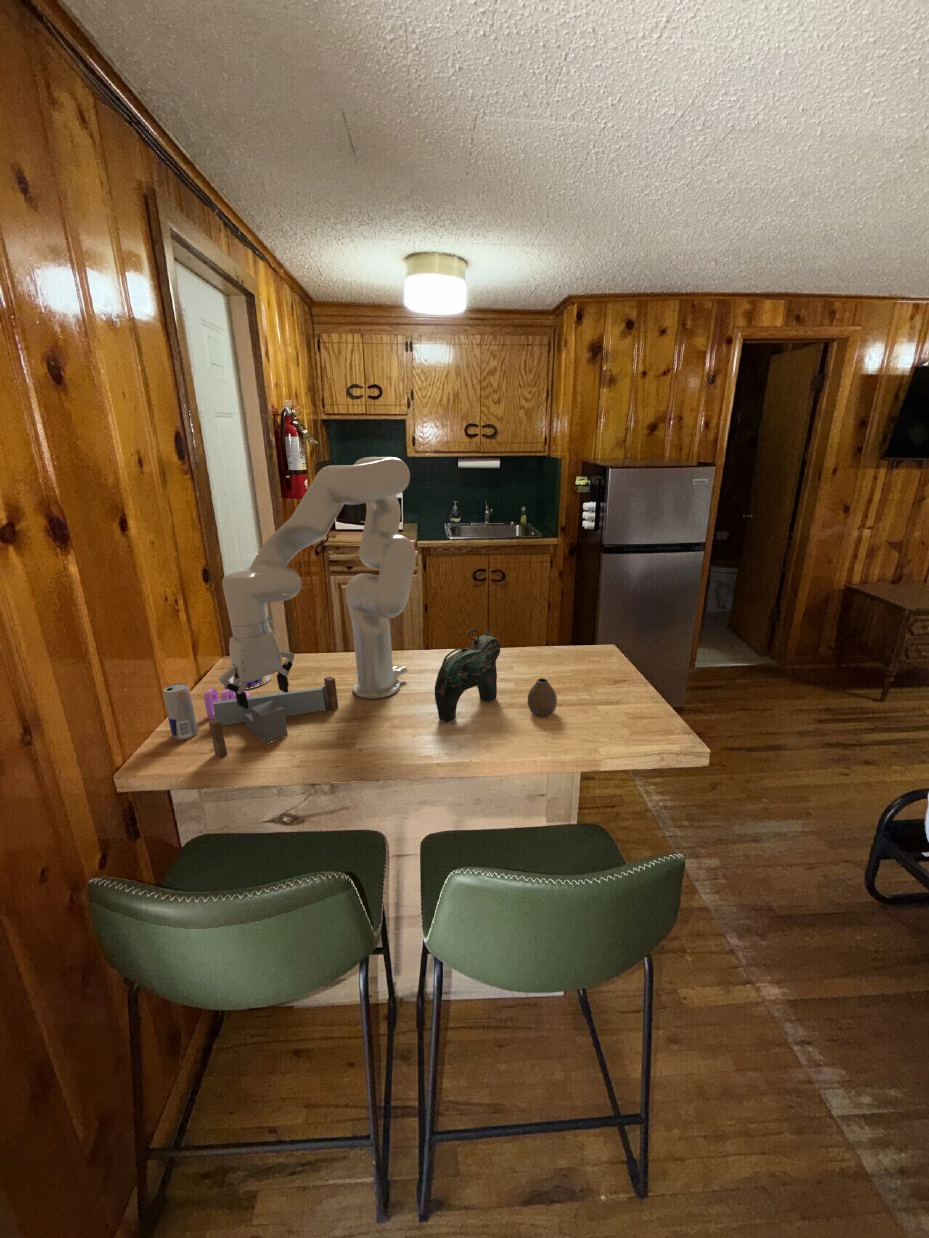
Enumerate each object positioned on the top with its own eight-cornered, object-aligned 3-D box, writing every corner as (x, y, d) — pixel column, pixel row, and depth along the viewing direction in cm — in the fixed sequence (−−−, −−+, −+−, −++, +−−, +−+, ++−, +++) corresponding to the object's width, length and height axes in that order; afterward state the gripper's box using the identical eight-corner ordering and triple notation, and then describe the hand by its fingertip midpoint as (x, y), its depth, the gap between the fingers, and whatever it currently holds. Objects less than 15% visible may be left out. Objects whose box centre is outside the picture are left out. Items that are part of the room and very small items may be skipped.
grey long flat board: (329, 707, 135) (326, 685, 133) (329, 709, 134) (326, 687, 132) (217, 723, 129) (213, 701, 127) (217, 726, 128) (212, 703, 126)
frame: (332, 704, 137) (329, 676, 134) (338, 707, 135) (335, 678, 133) (215, 754, 116) (208, 721, 114) (219, 758, 115) (213, 724, 112)
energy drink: (178, 729, 127) (168, 683, 123) (201, 728, 127) (192, 681, 124) (168, 741, 122) (157, 693, 118) (192, 739, 122) (182, 692, 119)
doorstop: (266, 720, 130) (262, 693, 128) (287, 736, 123) (283, 708, 121) (246, 727, 127) (241, 700, 125) (266, 744, 120) (262, 716, 117)
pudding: (253, 671, 160) (250, 654, 159) (279, 679, 154) (277, 662, 153) (216, 686, 151) (213, 668, 149) (243, 695, 145) (240, 677, 143)
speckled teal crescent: (488, 691, 142) (486, 619, 136) (506, 698, 137) (506, 624, 131) (431, 718, 129) (427, 640, 122) (450, 728, 124) (446, 646, 118)
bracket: (229, 719, 132) (225, 693, 129) (208, 719, 132) (203, 693, 130) (254, 695, 144) (250, 671, 142) (234, 695, 144) (230, 671, 142)
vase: (558, 709, 131) (559, 675, 129) (553, 722, 125) (554, 688, 122) (530, 705, 133) (531, 672, 131) (524, 718, 127) (524, 684, 125)
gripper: (278, 614, 125) (290, 681, 131) (203, 636, 114) (220, 708, 119) (295, 620, 120) (306, 689, 126) (218, 644, 109) (235, 719, 114)
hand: (264, 698), depth 123 cm, fingers open, 9 cm apart
